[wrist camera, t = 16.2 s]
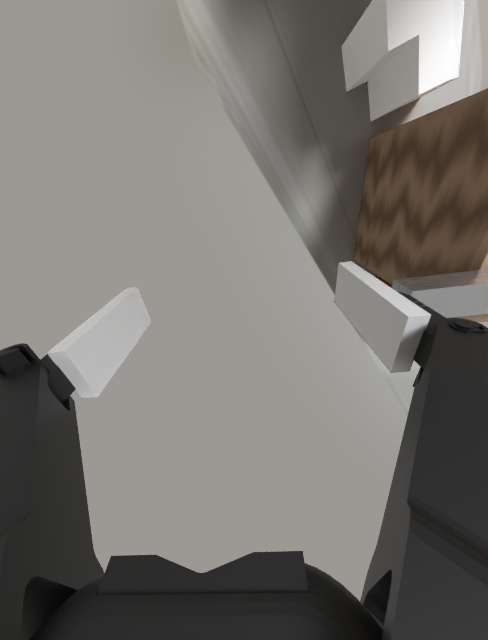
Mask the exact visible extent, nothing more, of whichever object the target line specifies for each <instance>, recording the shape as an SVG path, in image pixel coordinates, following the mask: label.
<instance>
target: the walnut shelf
mask: <svg viewBox="0 0 488 640" xmlns="http://www.w3.org/2000/svg"><path fill="white" fill-rule="evenodd" d="M353 260H354V261H356V262H357V263H359V264H361V265H362V266H364V267H365V268H367V269H368V270H370V271H371V272H373V273H375V274H376V275H378V276H379V277H381V278H382V279H384V280H386V281H387V282H389V283H390V284H393V280H397V279H406V278H415V277H424V276H432V275H441V274H450V273H459V272H467V271H476V270H485V269H488V89H485V90H483V91H481V92H478V93H476V94H474V95H471V96H469V97H467V98H464V99H462V100H459V101H457V102H455V103H452V104H450V105H448V106H445V107H443V108H440V109H438V110H436V111H433V112H431V113H429V114H426V115H424V116H422V117H419V118H417V119H414V120H412V121H410V122H407V123H405V124H403V125H400V126H398V127H396V128H393V129H391V130H388V131H386V132H384V133H381V134H379V135H377V136H374V137H372V138H370V145H369V152H368V159H367V166H366V173H365V180H364V187H363V194H362V201H361V208H360V216H359V223H358V230H357V237H356V244H355V251H354V258H353ZM452 318H462V319H467V320H471V321H475V322H485V321H488V314H482V315H472V316H462V317H452Z"/></svg>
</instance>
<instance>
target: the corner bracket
mask: <svg viewBox="0 0 488 640" xmlns="http://www.w3.org/2000/svg"><path fill="white" fill-rule="evenodd" d="M464 1H465V0H372V1H371V3H370V4H369V6H368V7H367V9H366V10H365V12H364V13H363V15H362V16H361V18H360V19H359V21H358V22H357V24H356V25H355V27H354V29H353V30H352V32H351V33H350V35H349V36H348V38H347V39H346V41H345V42H344V44H343V45H342V47H341V48H342V57H343V66H344V74H345V83H346V92H348V91H350V90H352V89H354V88H355V87H357V86H359V85H361V84H363V83H365V82H367V81H368V94H369V107H370V121H373V120H375V119H377V118H379V117H381V116H383V115H386V114H388V113H390V112H392V111H394V110H396V109H398V108H400V107H402V106H404V105H406V104H408V103H410V102H412V101H414V100H416V99H418V98H420V97H422V96H424V95H426V94H428V93H430V92H431V91H433V90H435V89H437V88H439V87H441V86H443V85H445V84H446V83H448V82H450V81H452V80H454V79H456V78H458V77H459V64H460V51H461V39H462V26H463V13H464Z"/></svg>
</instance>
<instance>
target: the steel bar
mask: <svg viewBox="0 0 488 640" xmlns="http://www.w3.org/2000/svg"><path fill="white" fill-rule="evenodd" d="M392 289H394V290H395V291H397V292H402V293H405V294H408V295H411V296H412V297H414V298H415V299H417V300H419V302H422V303H423V304H425V306H428V307H430V308H431V309H433V310H434V311H436V312H438V313H439V314H441V315H442V316H444V317H445V318H452V317H462V316H472V315H482V314H488V269H485V270H476V271H467V272H459V273H450V274H441V275H432V276H424V277H415V278H406V279H397V280H393V284H392Z"/></svg>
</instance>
